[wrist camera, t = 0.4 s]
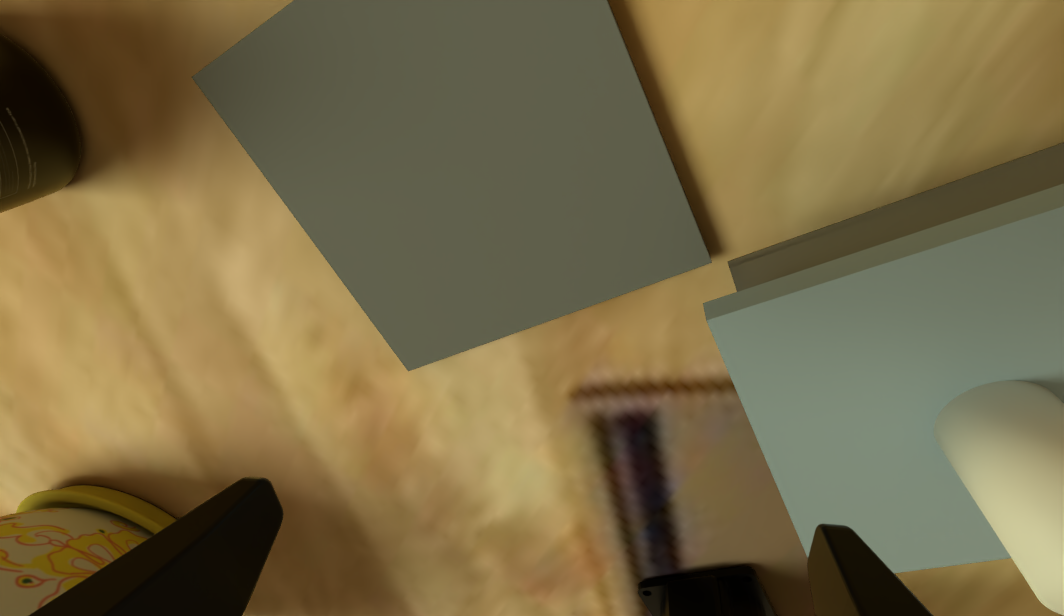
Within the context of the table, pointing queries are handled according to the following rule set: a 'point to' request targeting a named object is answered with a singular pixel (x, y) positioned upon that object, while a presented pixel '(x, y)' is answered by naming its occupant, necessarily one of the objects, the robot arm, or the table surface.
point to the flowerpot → (67, 541)
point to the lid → (918, 391)
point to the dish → (903, 217)
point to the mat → (461, 159)
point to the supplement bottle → (33, 131)
